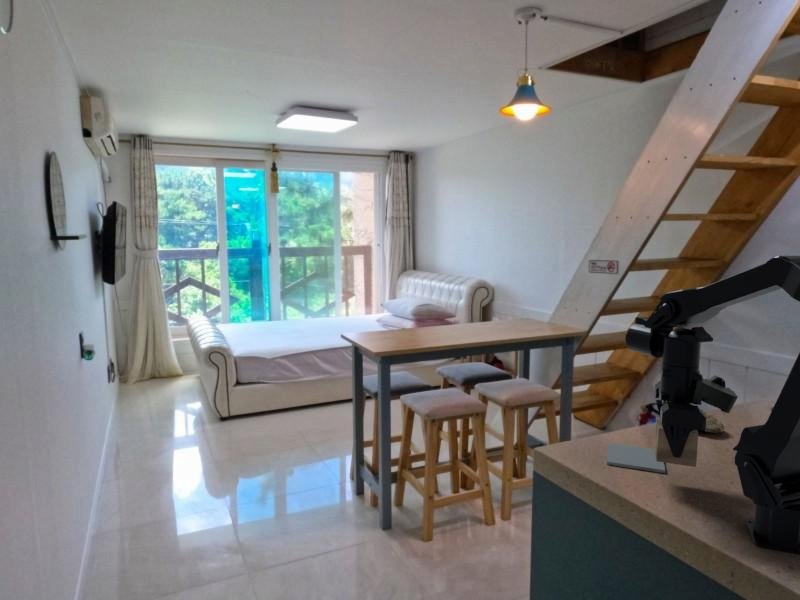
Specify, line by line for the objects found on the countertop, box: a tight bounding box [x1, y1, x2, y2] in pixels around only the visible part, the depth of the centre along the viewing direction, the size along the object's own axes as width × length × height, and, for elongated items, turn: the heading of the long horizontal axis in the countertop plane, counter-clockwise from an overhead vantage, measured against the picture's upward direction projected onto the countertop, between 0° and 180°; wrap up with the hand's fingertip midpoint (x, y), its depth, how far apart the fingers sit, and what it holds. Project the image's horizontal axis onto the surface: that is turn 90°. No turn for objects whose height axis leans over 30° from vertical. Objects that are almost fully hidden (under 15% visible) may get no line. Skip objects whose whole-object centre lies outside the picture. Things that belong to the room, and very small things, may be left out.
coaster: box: [606, 442, 666, 474], centre depth 103 cm, size 10×10×1 cm
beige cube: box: [653, 416, 699, 468], centre depth 91 cm, size 6×6×6 cm
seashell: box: [701, 409, 726, 434], centre depth 118 cm, size 8×6×8 cm
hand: (674, 450), depth 92 cm, fingers closed on beige cube, 6 cm apart
